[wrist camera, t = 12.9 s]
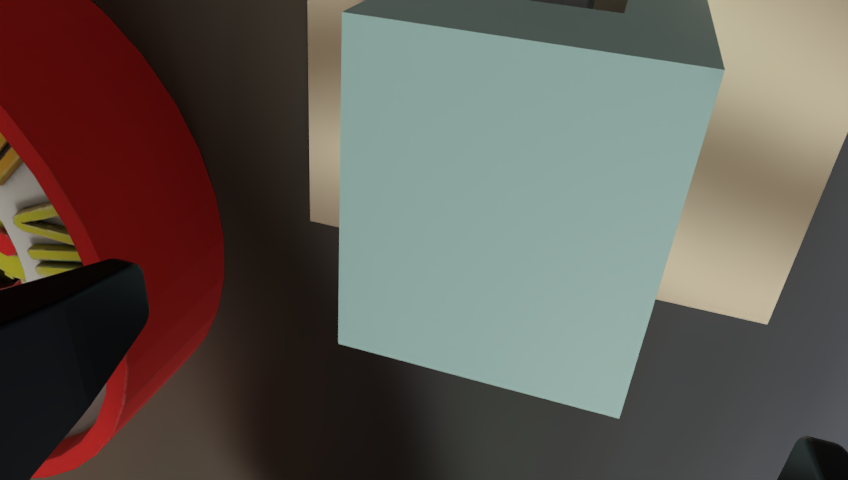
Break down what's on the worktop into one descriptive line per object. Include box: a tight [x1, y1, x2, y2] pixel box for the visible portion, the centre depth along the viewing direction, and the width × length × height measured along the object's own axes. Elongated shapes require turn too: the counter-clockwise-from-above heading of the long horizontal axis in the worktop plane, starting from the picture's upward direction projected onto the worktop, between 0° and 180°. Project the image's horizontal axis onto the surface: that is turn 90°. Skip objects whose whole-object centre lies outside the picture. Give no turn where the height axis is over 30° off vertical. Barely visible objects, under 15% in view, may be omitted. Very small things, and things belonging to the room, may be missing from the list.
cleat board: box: [307, 0, 848, 324], centre depth 18 cm, size 10×14×4 cm
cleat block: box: [338, 0, 725, 419], centre depth 15 cm, size 7×6×7 cm
